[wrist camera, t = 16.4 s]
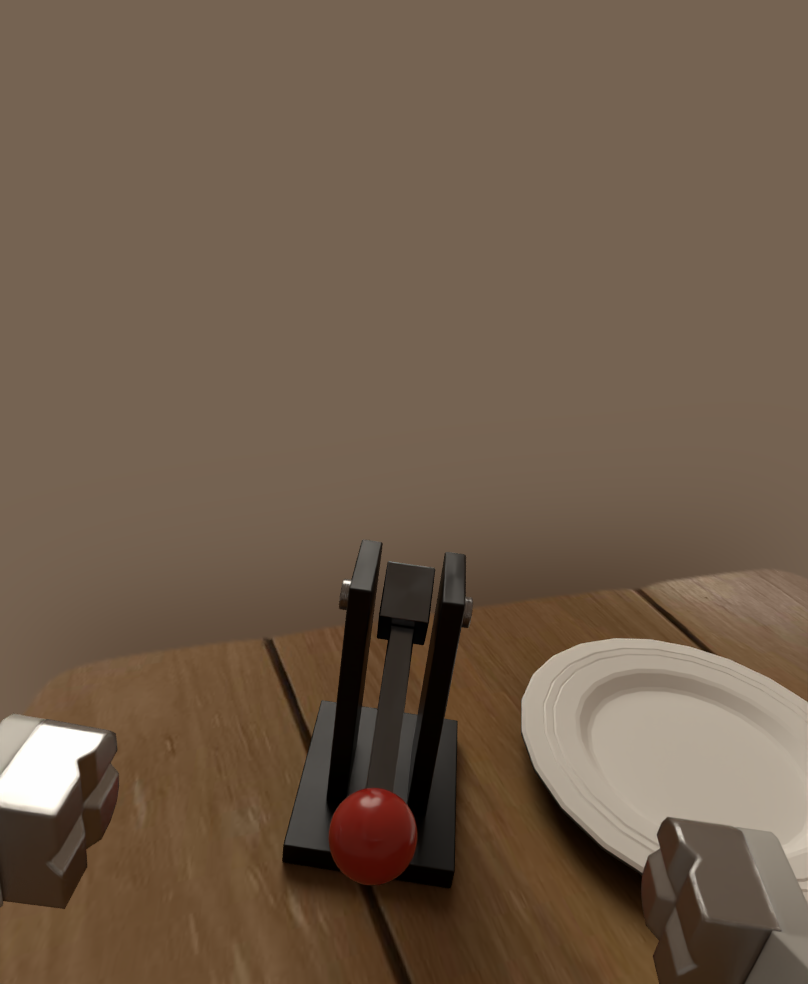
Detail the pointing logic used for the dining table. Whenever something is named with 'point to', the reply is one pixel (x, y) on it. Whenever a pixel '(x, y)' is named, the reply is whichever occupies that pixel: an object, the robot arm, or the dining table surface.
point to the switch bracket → (350, 729)
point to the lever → (386, 743)
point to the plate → (667, 745)
